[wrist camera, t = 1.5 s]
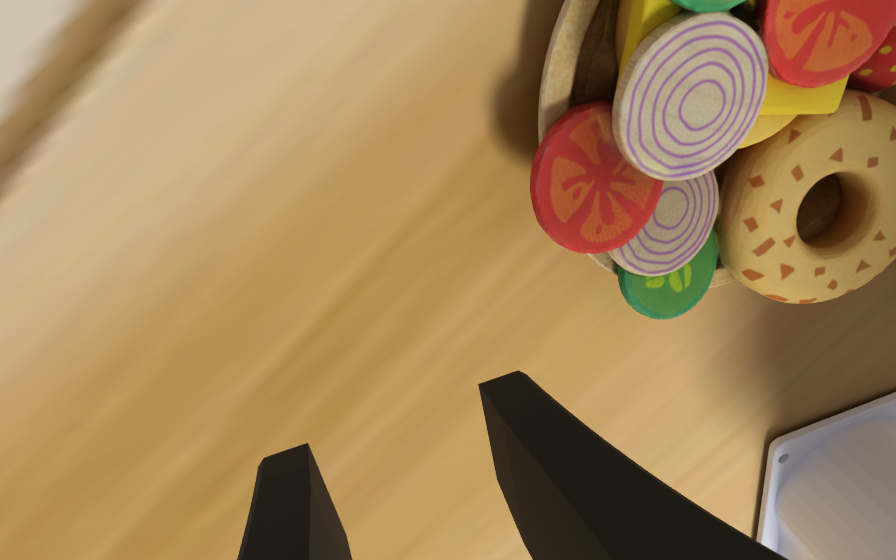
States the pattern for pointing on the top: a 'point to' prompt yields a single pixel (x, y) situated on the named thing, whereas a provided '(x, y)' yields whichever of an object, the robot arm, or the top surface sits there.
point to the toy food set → (721, 145)
